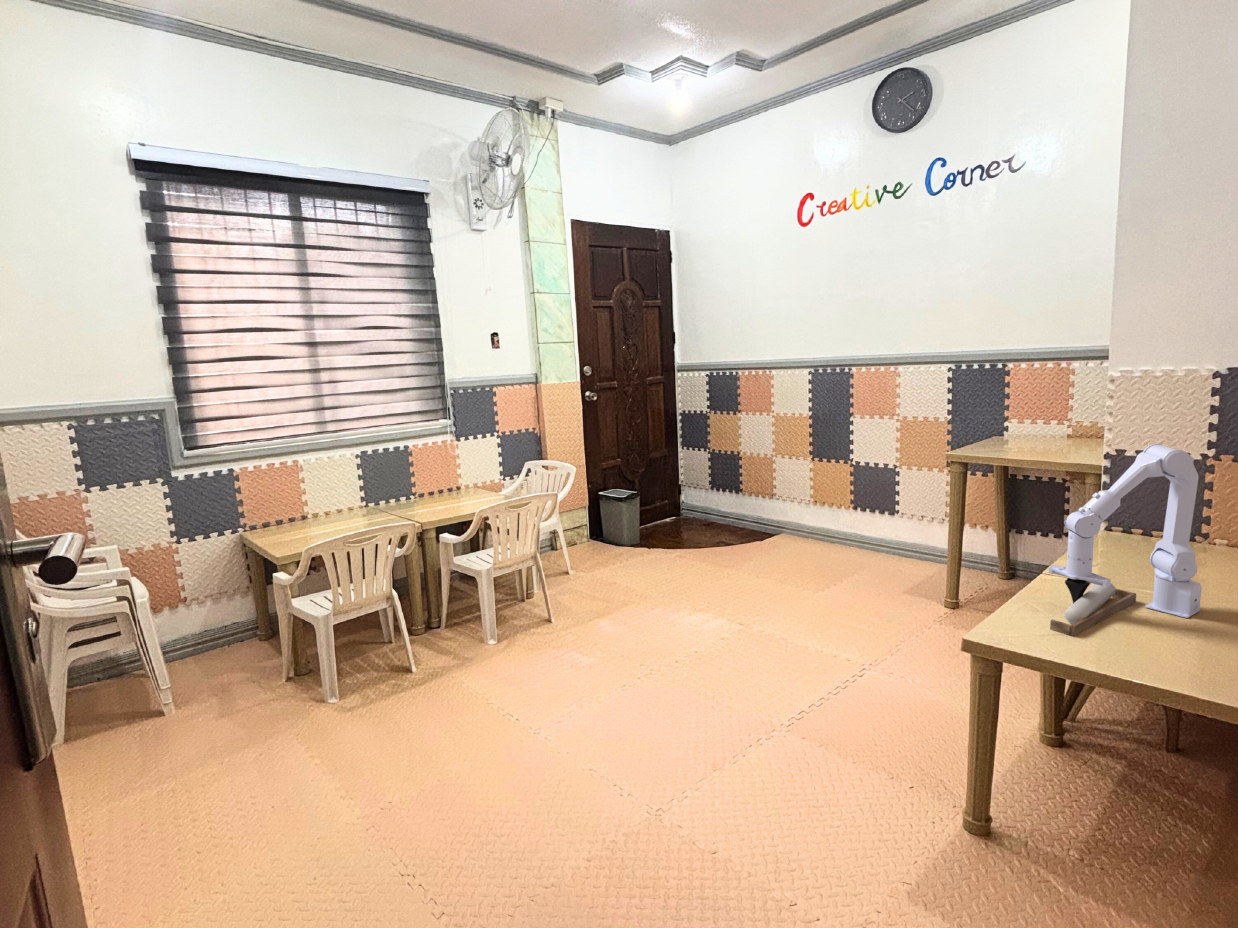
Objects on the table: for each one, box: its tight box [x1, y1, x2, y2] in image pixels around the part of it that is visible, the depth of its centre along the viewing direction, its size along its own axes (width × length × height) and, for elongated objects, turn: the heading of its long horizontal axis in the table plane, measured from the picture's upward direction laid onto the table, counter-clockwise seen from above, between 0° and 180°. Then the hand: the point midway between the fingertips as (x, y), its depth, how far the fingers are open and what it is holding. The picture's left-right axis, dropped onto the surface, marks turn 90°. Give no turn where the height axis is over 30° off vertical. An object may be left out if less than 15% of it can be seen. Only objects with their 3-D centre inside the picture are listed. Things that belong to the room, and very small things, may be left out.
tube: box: [1064, 582, 1117, 625], centre depth 188 cm, size 5×5×25 cm
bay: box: [1049, 588, 1137, 637], centre depth 186 cm, size 5×33×2 cm, turn 121°
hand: (1076, 604), depth 190 cm, fingers closed, pressing on tube
